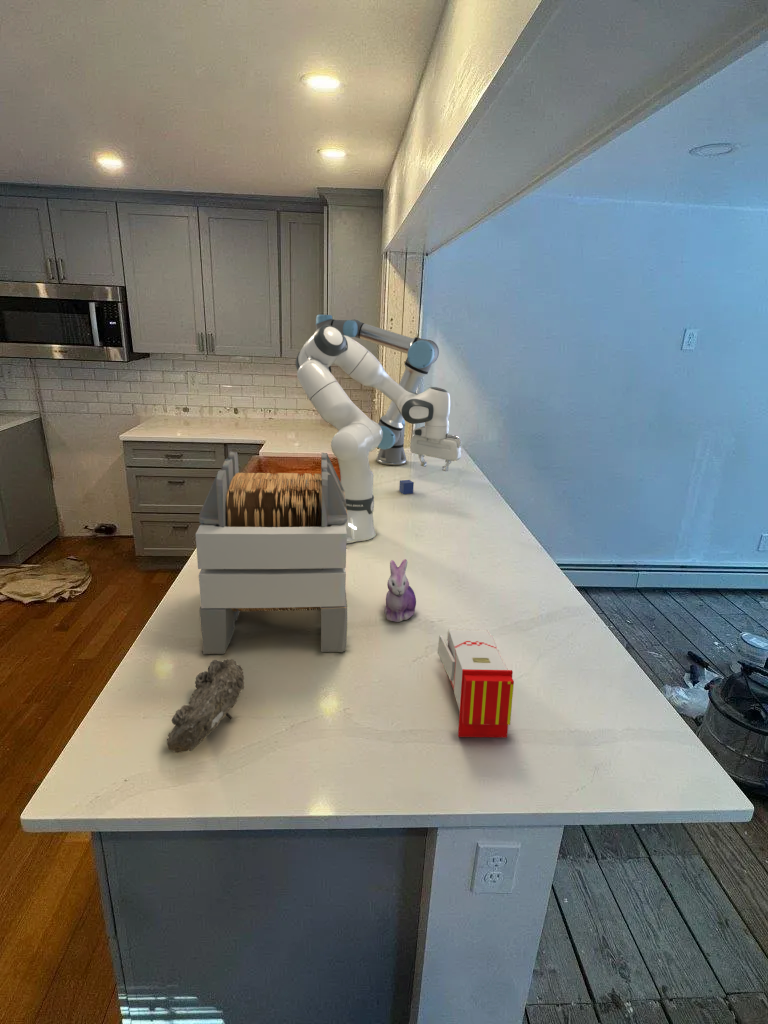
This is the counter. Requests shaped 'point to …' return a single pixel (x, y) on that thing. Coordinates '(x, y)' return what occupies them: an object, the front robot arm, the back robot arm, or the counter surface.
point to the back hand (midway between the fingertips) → (323, 394)
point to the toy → (478, 682)
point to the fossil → (206, 705)
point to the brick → (406, 487)
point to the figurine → (399, 594)
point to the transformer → (272, 550)
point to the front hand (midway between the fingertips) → (434, 468)
